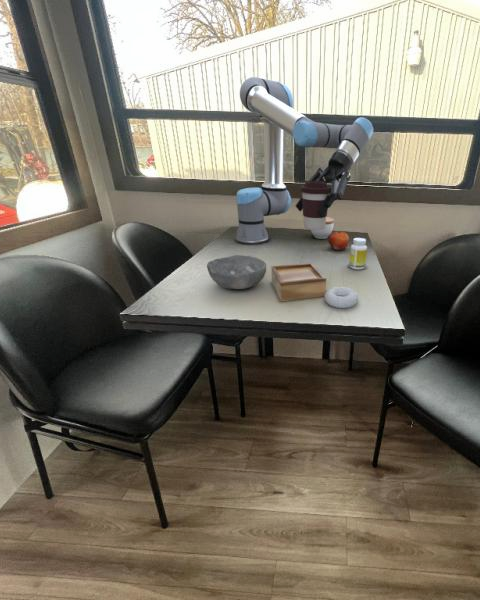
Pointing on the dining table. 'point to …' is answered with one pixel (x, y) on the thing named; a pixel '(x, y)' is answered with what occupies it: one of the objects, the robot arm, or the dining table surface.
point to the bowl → (237, 271)
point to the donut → (341, 297)
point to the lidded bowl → (326, 231)
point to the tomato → (338, 240)
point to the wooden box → (298, 281)
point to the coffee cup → (314, 204)
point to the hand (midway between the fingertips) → (308, 211)
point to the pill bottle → (358, 253)
